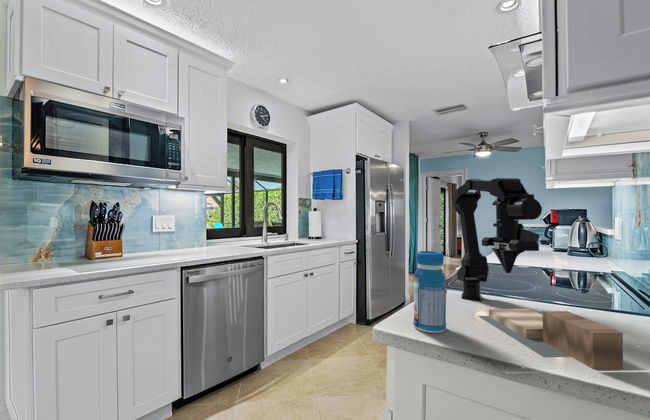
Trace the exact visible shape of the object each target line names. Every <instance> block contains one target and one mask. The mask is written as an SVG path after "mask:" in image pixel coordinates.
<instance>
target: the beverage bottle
mask: <svg viewBox="0 0 650 420" xmlns="http://www.w3.org/2000/svg"><path fill="white" fill-rule="evenodd" d="M444 259H445V258H444V253H443V252H440V251H433V250H420V251H417V252H416V264H417V265H418V267H417V268H416V270H415V272H414V273H413V274H414V275H413V280H414V283H413V285H412V290H413V326H414V328H415V329H416V330H418V331H420V332H424V333H428V334H440V333H443V332H445V331H446V330H447V322H446V320H447V319H446V318H447V317H446V315H447V313H446V312H447V311H446V310H447V292H448V289H447V285H446V282H447V277H446V274H445V272H444V270H443V269H442V267H443V266H444V262H445V261H444Z"/></svg>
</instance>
